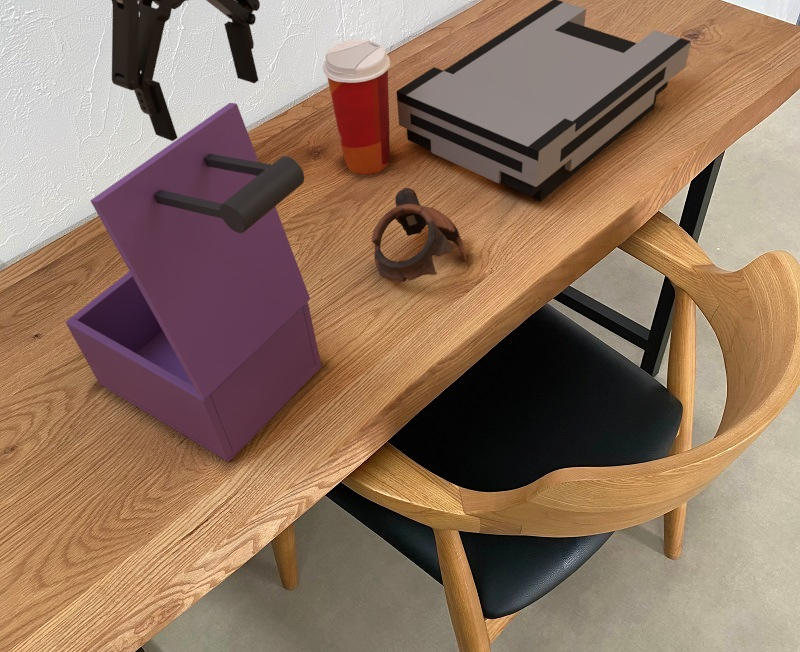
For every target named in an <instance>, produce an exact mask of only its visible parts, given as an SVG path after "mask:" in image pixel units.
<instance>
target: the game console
mask: <svg viewBox="0 0 800 652" xmlns="http://www.w3.org/2000/svg"><path fill="white" fill-rule="evenodd" d="M586 15H587V8H585V7H582V6H579V5H575V4H572V3H569V2H567V1H566V2H565V1H562V0H550V1H549V2H547V3H546V4H544V5H543V6H541V7H540V8H538V9H537V10H535V11H533V12H532V13H531V14H529V15H528V16H525V17H524V18H522V19H521V20H520V21H518V22H516V23H515V24H513V25H512V26H510V27H509V28H507V29H505V30H504V31H503V32H501V33H499V34H498V35H496V36H495V37H493V38H491V39H490V40H488V41H487V42H486V43H484V44H482V45H481V46H479V47H478V48H476V49H474V50H473V51H472V52H470V53H469V54H467V55H465V56H464V57H462V58H460V59H459V60H458V61H455V62H454V63H453V64H451V65H450V66H448V67H446V68H445V69H440V68H438V67H435V66H433V67H431V68H430V69H428V70H427V71H425V72H424V73H422V74H421V75H419V76H417V77H416V78H414V79H413V80H411V81H410V82H409V83H407V84H405V85H404V86H402V87H400V88H399V89H397V90H396V91H395V92H396V103H397V116H398V117H397V118H398V126H399V127H402V128H404V129H406V138H407V139H406V140H407V141H409V142H411V143H414V144H416V145H418V147H420V148H423V149H425V150H427V151H429V152H431V154H434V155H435V156H438V157H440V158H443V159H444V160H447V161H449V162H451V163H453V164H455V165H458V166H459V167H462V168H464V169H466V170H469V171H470V172H473V173H475V174H477V175H479V176H482V177H483V178H486V179H488V180H489V181H490V180H491V181H492V182H494V183H497V184H502V185H503V186H505V187H508V188H509V189H512V190H515V191H516V192H518V193H520V194H523V195H525V196H527V197H530V198H531V199H534V200H536V201H539V202H542V201H543V200H545V198H547V197H548V196H549V195H550V194H552V193H553V192H554V191H555V190H557V189H558V188H559V187H560V186H561V185H562V184H564V183H565V182H566V181H568V179H570V178H571V177H572V176H573V175H575V174H576V173H577V172H578V171H580V170H581V169H582V168H583V167H584V166H585V165H587V164H588V163H590V161H592V160H593V159H594V158H595V157H596V156H598V155H599V154H600V153H601V152H602V151H604V150H605V149H606V148H607V147H609V146H610V145H611V144H612V143H614V142H615V141H616V140H617V139H619V138H620V137H621V136H623V134H625V133H626V132H627V131H628V130H630V128H633V126H635V124H637V123H638V122H639V121H640V120H642V119H643V118H644V117H646V115H648V114H649V113H651V111H653V110H654V109H655V107H656V101H657V96H658V95H659V94H661V92H663V91H664V90H665V89H666V88H667V87H668V84H669V81H670V80H671V79H672V78H674V77H676V75H678V74H679V73H680V72H681V71H682V70H683V69H685V68H686V67H687V63H688V58H689V53H690V48H691V44H692V41H691V40H688V39H684V38H681V37H678V36H676V35H672V34H669V33H665V32H662V31H659V30H656V29H654V30H653V31H651V32H649V34H647V35H646V36H644V37H643V38H642V39H640V40H639V41H638V42H634V41H632V40H629V39H625V38H622V37H619V36H615V35H613V34H610V33H607V32H604V31H601V30H597V29H595V28H591V27H588V26H585V24H586Z"/></svg>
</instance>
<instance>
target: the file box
mask: <svg viewBox="0 0 800 652" xmlns="http://www.w3.org/2000/svg"><path fill="white" fill-rule="evenodd" d="M64 322H65V325H66V326H67V328H68V330H69V331H70V334H71V335H72V337H73V339H74V340H75V342H76V344H77V346H78V348H79V350H80V352H81V354H82V355H83V357H84V359H85V360H86V363H87V364H88V366H89V367H90V370H91V371H92V373H93V375H94V377H95V379H96V380H97V382H98V384H99V385H100V386H102V387H103V388H105V389H106V390H108V391H110V392H112V393H113V394H115V395H116V396H118V397H119V398H121V399H123V400H125V401H127V402H128V403H130V404H131V405H133V406H134V407H137V408H138V409H140V410H141V411H142V412H145V413H146V414H148V415H150V416H151V417H153V418H155V419H156V420H158V421H160V422H161V423H163V424H164V425H166V426H168V427H169V428H171V429H173V430H175V432H178V433H179V434H181V435H183V436H184V437H186V438H188V439H190V440H191V441H193V442H195V444H198V445H199V446H201V447H203V448H204V449H206V450H207V451H209V452H211V453H213V454H214V455H216V456H217V457H219V458H220V459H222V460H224V461H225V462H227V463H229V462H230V461H231V460H233V459H234V457H236V456H237V455H238V454H239V452H240V451H241V450H242V449H243V448H244V447H246V445H247V444H248V443H249V442H250V441H251V440H252V439H253V438H254V437H255V436H256V435H257V434H258V433H259V432H260V431H262V429H263V428H264V427H265V426H266V425H267V424H268V423H269V421H270V420H272V418H274V416H276V414H278V412H279V411H280V410H281V409H282V408H283V407H284V406H285V405H286V404H287V403H289V401H290V400H291V399H292V398H293V397H294V396H295V395H296V393H298V392H299V391H300V390H301V389H302V388H303V387H304V385H306V383H307V382H309V380H310V379H311V378H312V377H313V376H315V374H317V372H319V370H320V369H321V368H322V362H321V357H320V352H319V347H318V342H317V338H316V334H315V329H314V324H313V318H312V315H311V310H310V306H309V301H308V302H307V303H306V304H305V305H304V306H303V307H302V308H300V309H299V310H298V311H297V312H296V313H295V314H294V315H293V316H292V317H291V318H290V319H289V320H288V321H287V322H286V323H285V324H284V325H283V326H281V327H280V328H279V329H278V330H277V331H276V332H275V333H274V334H273V335H272V336H271V337H270V338H269V339H268V340H267V341H266V342H265V343H264V344H262V345H261V346H260V347H259V348H258V349H257V350H256V351H255V352H254V353H253V354H252V355H251V356H250V357H249V358H248V359H247V360H246V361H245V362H244V363H242V364H241V365H240V366H239V367H238V368H237V369H236V370H235V371H234V372H233V373H232V374H231V375H230V376H229V377H228V378H227V379H226V380H225V381H223V382H222V383H221V384H220V385H219V386H218V387H217V388H216V389H215V390H214V391H213V392H212V393H211V394H210V395H209V396H208V397H207V398H203V397H200V396H199V395H198V393H197V391H196V389H195V388H194V386H193V384H192V382H191V380H190V379H189V377H188V375H187V373H186V371H185V370H184V368H183V366H182V364H181V362H180V361H179V359H178V357H177V355H176V353H175V352H174V350H173V348H172V346H171V344H170V343H169V341H168V339H167V337H166V336H165V334H164V332H163V330H162V328H161V327H160V325H159V323H158V321H157V319H156V318H155V316H154V314H153V312H152V310H151V309H150V307H149V305H148V303H147V301H146V300H145V298H144V296H143V294H142V292H141V291H140V289H139V287H138V285H137V283H136V282H135V280H134V278H133V276H132V274H131V273H130V271H129V270H128V272H126V274H124V275H123V276H122V277H120V278H118V280H116V281H115V282H114V283H113V284H111V285H109V287H108V288H106V289H105V290H104V291H103V292H101V293H100V294H99V295H98V296H96V297H95V298H93V299H92V300H91V301H89V302H88V303H87V304H86V305H85V306H83V307H82V308H81V309H79V310H78V311H77V312H76V313H74V314H73V315H72V316H70V317H69V318H68V319H66V321H64Z"/></svg>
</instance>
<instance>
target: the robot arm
mask: <svg viewBox="0 0 800 652" xmlns="http://www.w3.org/2000/svg"><path fill="white" fill-rule="evenodd" d="M186 1H188V0H111V4H112V21H111V22H112V23H111V25H112V26H111V29H112V31H111V32H112V33H111V37H112V38H111V82H112V84H114V85H115V86H118V87H120V88H123V89H127V90H129V91H134V94H135V97H136V100H137V102H138V105H139V108H140V111H142V113H143V114H146V115H148V117H149V119H150V123H151V126H152V127H153V130H154V131H153V132H154V133H155V135H156V136H158V137H160V138H163V139H166V140H169V141H171V142H174V141H176V140H177V139H179V137H178V135H177V131H176V129H175V126H174V122H173V119H172V116H171V113H170V110H169V108H168V104H167V102H166V98H165V96H164V92H163V90H162V85H161V83H160V82H159V81H156V80H154V75H155V70H156V65H157V61H158V56H159V53H160V52H159V51H160V48H161V43H162V38H163V35H164V29H165V23H166V22H168V21H169V20H170V18H171V14H172V10H176V9H178V8H180V7H181V6H182V5H183V4H184V3H185V2H186ZM206 2H207V3H209V4H210V5H212V6H213V7H214V8H215V9H217V10H218V11H219V12H221V13H222V14H223V15H224V16H226V17H227V18H228V19H230V20H231V21H227V22H225V23H224V29H225V33H226V38H227V42H228V45H229V49H230V53H231V56H232V60H233V61H232V62H233V65H234V69H235V73H236V77H237V79H239V80H242V81H245V82H249V83H251V84H256V83H258V81H259V76H258V72H257V68H256V63H255V59H254V55H253V49H254V45H255V43H254V39H253V34H252V30H251V26H253V25H254V24H255V23H256V20H257V19H256V18H257V17H256V14H255V13H253V12H254V11H255V12H257V11H259V9H260V7H261V3H260V1H259V0H206ZM153 3H154V4H156V5H157V6H158V7H157V8H156V7H153V6H152V5H153Z"/></svg>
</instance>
